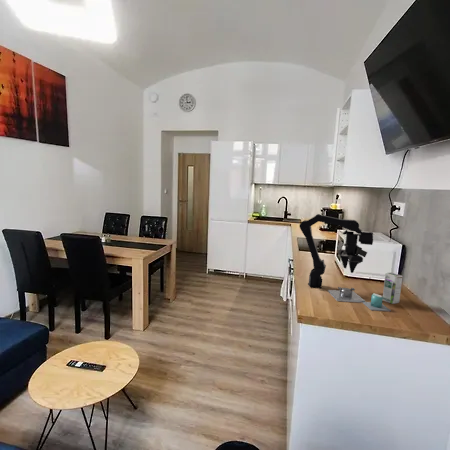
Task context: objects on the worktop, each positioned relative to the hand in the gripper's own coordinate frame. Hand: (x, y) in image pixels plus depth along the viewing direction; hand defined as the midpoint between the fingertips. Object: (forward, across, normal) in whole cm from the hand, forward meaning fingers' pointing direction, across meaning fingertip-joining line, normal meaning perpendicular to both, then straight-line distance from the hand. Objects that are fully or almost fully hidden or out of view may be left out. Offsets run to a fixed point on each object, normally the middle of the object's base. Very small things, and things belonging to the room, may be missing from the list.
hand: (348, 270), depth 157 cm
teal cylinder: (+11, -21, -6) cm, 25 cm away
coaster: (+12, -21, -6) cm, 25 cm away
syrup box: (+12, -12, -18) cm, 25 cm away
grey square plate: (+12, -9, +4) cm, 16 cm away
